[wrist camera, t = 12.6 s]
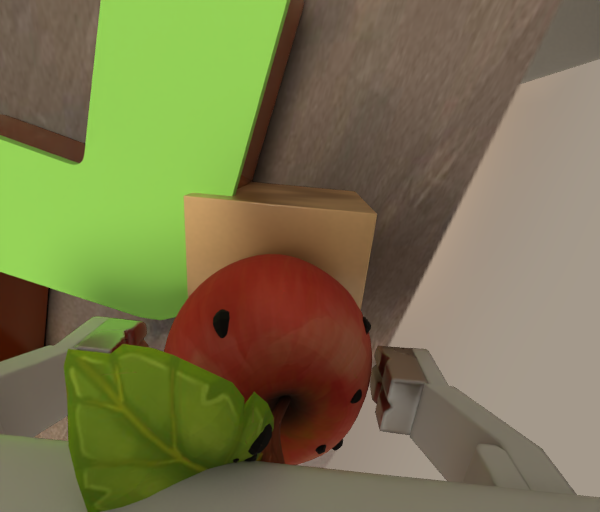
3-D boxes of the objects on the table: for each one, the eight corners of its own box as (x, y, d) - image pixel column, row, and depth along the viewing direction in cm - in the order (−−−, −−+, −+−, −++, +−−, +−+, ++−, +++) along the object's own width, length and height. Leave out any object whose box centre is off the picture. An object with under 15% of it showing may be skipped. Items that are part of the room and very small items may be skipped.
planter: (188, 406, 25) (152, 479, 20) (-37, 338, 24) (-144, 395, 18) (317, -20, 15) (319, -116, 10) (-52, -178, 14) (-293, -394, 8)
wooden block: (355, 191, 19) (377, 213, 12) (338, 304, 22) (350, 372, 15) (228, 179, 19) (182, 195, 12) (227, 293, 22) (189, 356, 15)
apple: (390, 308, 14) (556, 658, 4) (279, 384, 15) (226, 754, 6) (275, 177, 12) (131, 278, 3) (165, 279, 14) (-162, 565, 4)
